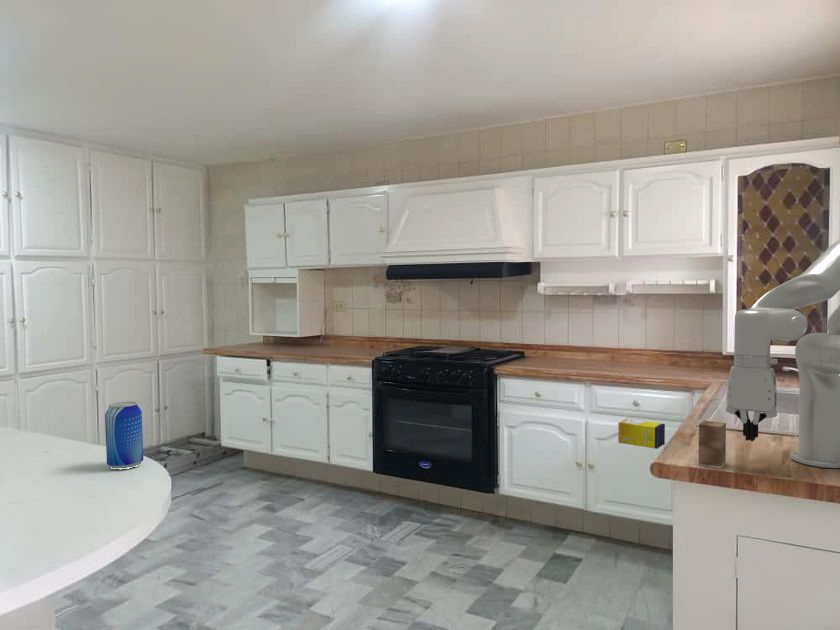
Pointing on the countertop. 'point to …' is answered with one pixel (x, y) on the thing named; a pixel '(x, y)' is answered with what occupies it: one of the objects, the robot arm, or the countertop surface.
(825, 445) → the robot arm
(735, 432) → the countertop surface
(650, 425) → the supplement box
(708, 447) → the walnut block
